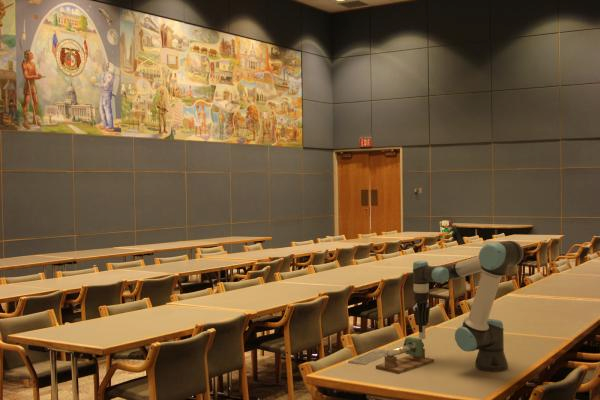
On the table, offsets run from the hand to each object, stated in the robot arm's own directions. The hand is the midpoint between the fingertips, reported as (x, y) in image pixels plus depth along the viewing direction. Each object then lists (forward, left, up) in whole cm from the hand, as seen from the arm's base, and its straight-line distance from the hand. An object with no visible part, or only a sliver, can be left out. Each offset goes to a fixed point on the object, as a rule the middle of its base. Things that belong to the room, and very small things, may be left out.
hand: (422, 338), depth 347 cm
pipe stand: (+14, 0, -11) cm, 18 cm away
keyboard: (+13, -23, -12) cm, 29 cm away
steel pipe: (+14, 0, -5) cm, 15 cm away
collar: (+7, 0, -7) cm, 10 cm away
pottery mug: (-10, -13, -11) cm, 20 cm away
